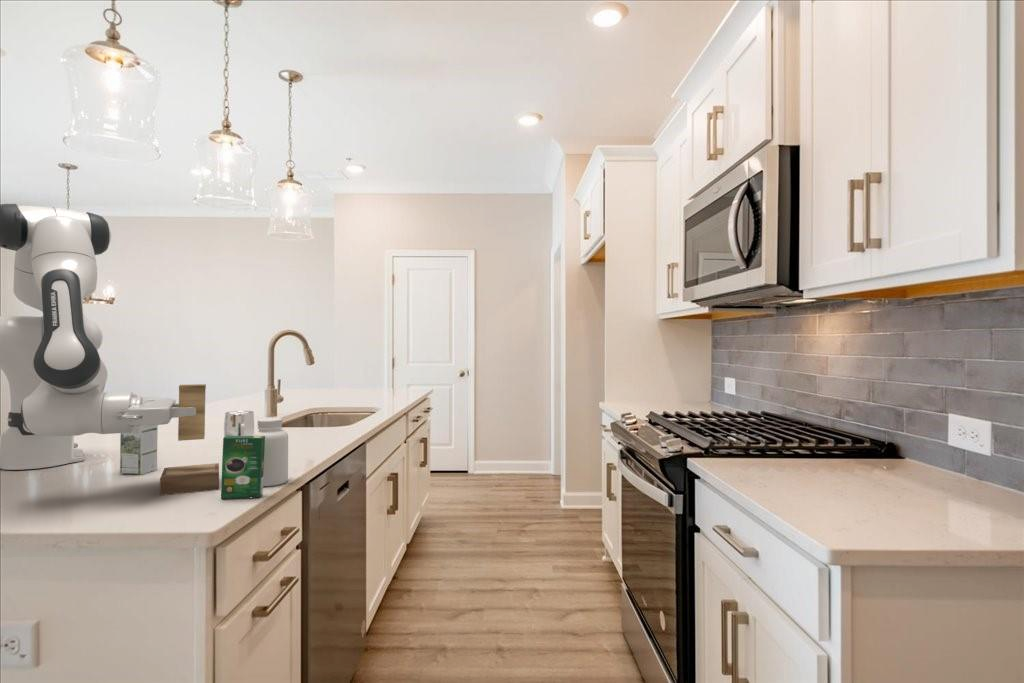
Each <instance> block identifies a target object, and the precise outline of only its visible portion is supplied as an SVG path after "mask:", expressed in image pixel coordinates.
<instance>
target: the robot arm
mask: <svg viewBox="0 0 1024 683" xmlns="http://www.w3.org/2000/svg"><path fill="white" fill-rule="evenodd" d="M111 241H112V233H111V229H110V226H109V223H108V222H107V220H106V219H105V218H104V217H103V216H101V215H99V214H96V213H92V212H90V211H89V212H82V211H79V210H78V211H77V210H75V209H68V208H63V207H57V206H52V207H49V206H39V205H38V206H36V205H18V204H16V203H2V204H0V248H3V249H5V250H9V251H15V254H14V264H13V265H14V266H13V267H14V268H13V288H12V289H13V293H14V296H15V297H16V298H17V300H19V301H20V302H21V303H22V304H25V305H26V306H28V307H32V308H34V309H35V310H36V309H37V310H39V311H40V312H42V316H31V315H30V316H29V315H28V316H26V315H25V316H24V315H1V316H0V369H1V371H2V373H4V375H5V377H6V380H7V382H8V386H9V394H10V395H9V396H10V411H9V412H8V414H7V427H8V428H7V429H6V430H5V431H4V432H2V433H1V434H0V470H5V471H6V470H7V471H9V470H11V471H15V470H16V471H17V470H20V471H21V470H33V469H35V470H36V469H44V468H52V467H58V466H62V465H65V464H66V465H67V464H71V463H77V462H82V461H85V458H84V451H83V449H82V448H78V447H79V446H78V443H77V442H75V436H77V437H78V436H81V435H85V434H98V435H107V434H108V435H110V434H113V435H115V434H120V433H130V432H131V431H132V429H133V427H136V426H141V425H158V426H160V425H161V426H162V425H163V426H164V425H168V424H169V423H170V422H171V420H172V419H173V418H174V419H176V418H179V417H183V416H193V415H196V407H180V408H179V402H177V403H176V399H175V398H172V397H171V398H170V397H159V396H158V397H157V396H138V394H136V393H133V391H120V392H119V391H114V392H111V391H110V392H108V391H107V392H104V389H105V386H106V383H107V380H108V370H107V367H106V365H105V362H103V360H102V358H101V357H100V353H99V352H98V350H99V349H100V347H101V345H102V342H103V333H102V330H101V328H100V327H99V326H98V325H97V323H95V322H94V321H92V320H91V319H90V318H88V317H87V316H85V315H84V305H83V304H84V303H83V302H84V299H87V298H88V297H90V296H91V295H93V294H94V292H96V289H97V282H98V267H97V260H96V256H99V255H102V254H103V253H105V252H106V251H107V250H108V249H109V245H110V244H111Z"/></svg>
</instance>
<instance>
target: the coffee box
mask: <svg viewBox="0 0 1024 683" xmlns="http://www.w3.org/2000/svg"><path fill="white" fill-rule="evenodd" d="M264 451H265V436H225V437H224V436H223V440H222V456H221V457H222V458H221V459H222V460H221V461H222V462H221V484H220V485H221V486H220V488H221V489H220V499H221V500H226V499H228V500H230V499H229V498H233V499H254V498H253V497H260V498H261V497H262V496H263V492H264V490H263V489H264V487H263V472H264ZM261 495H262V496H261ZM250 497H252V498H250Z"/></svg>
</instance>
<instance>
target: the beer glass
mask: <svg viewBox="0 0 1024 683" xmlns="http://www.w3.org/2000/svg"><path fill="white" fill-rule="evenodd" d="M254 413H255V412H254V411H253V410H233V411H227V412H224V423H223V438H224V437H225V436H252V435H253V434H254V433H255V415H254Z"/></svg>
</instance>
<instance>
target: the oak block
mask: <svg viewBox="0 0 1024 683" xmlns="http://www.w3.org/2000/svg"><path fill="white" fill-rule="evenodd" d="M206 388H207V384H205V383H203V384H200V383H199V384H197V383H196V384H195V383H194V384H180V385H178V403H179V408H180V407H196V415H193V416H183V417H178V422H177V423H178V426H177V430H178V431H177V441H179V442H180V441H195V440H205V434H206V433H205V430H206Z"/></svg>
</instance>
